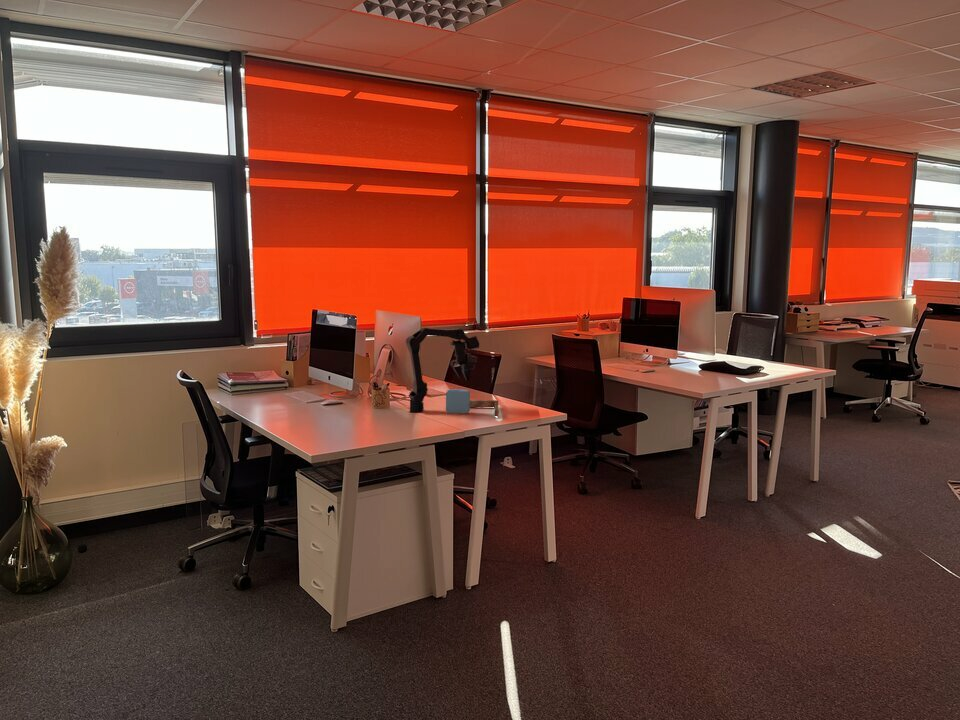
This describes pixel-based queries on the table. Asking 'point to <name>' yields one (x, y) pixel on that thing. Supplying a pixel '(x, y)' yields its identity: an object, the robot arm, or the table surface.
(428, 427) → the table surface
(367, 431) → the table surface
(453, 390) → the data package
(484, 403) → the brown angled bar
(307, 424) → the table surface
